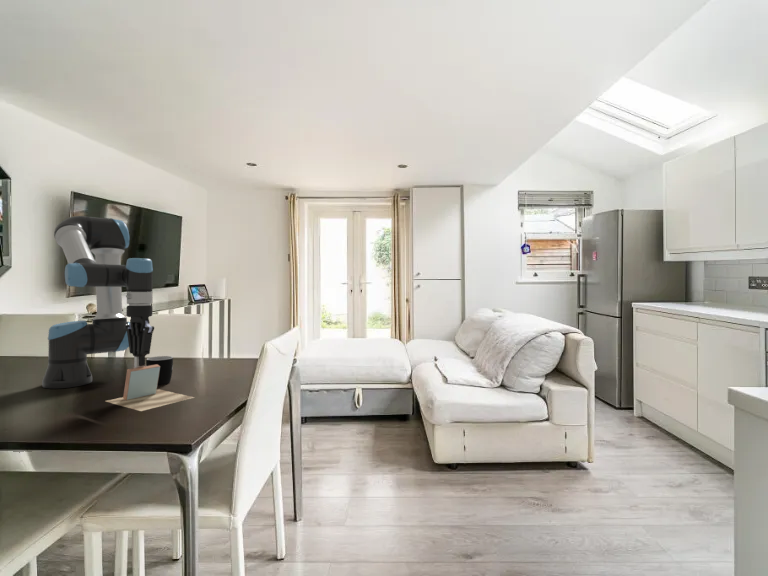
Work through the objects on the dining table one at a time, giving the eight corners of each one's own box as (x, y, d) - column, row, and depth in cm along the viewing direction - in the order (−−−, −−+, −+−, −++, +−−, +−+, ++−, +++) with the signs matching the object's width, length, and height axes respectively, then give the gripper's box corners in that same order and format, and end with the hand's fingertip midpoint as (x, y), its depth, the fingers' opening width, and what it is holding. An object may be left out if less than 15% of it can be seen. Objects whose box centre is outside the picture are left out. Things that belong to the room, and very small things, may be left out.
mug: (176, 384, 161) (176, 358, 161) (151, 389, 155) (151, 361, 155) (164, 379, 170) (164, 354, 170) (139, 383, 163) (140, 356, 163)
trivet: (104, 403, 136) (104, 401, 136) (158, 391, 152) (158, 389, 152) (140, 413, 126) (140, 411, 126) (194, 399, 142) (194, 397, 142)
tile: (123, 398, 138) (127, 369, 137) (153, 391, 147) (157, 364, 146) (126, 400, 137) (130, 371, 136) (156, 393, 146) (160, 366, 145)
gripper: (117, 304, 142) (117, 375, 142) (139, 305, 136) (139, 379, 136) (139, 303, 149) (139, 371, 149) (162, 304, 142) (162, 375, 142)
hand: (139, 375), depth 142 cm, fingers closed
